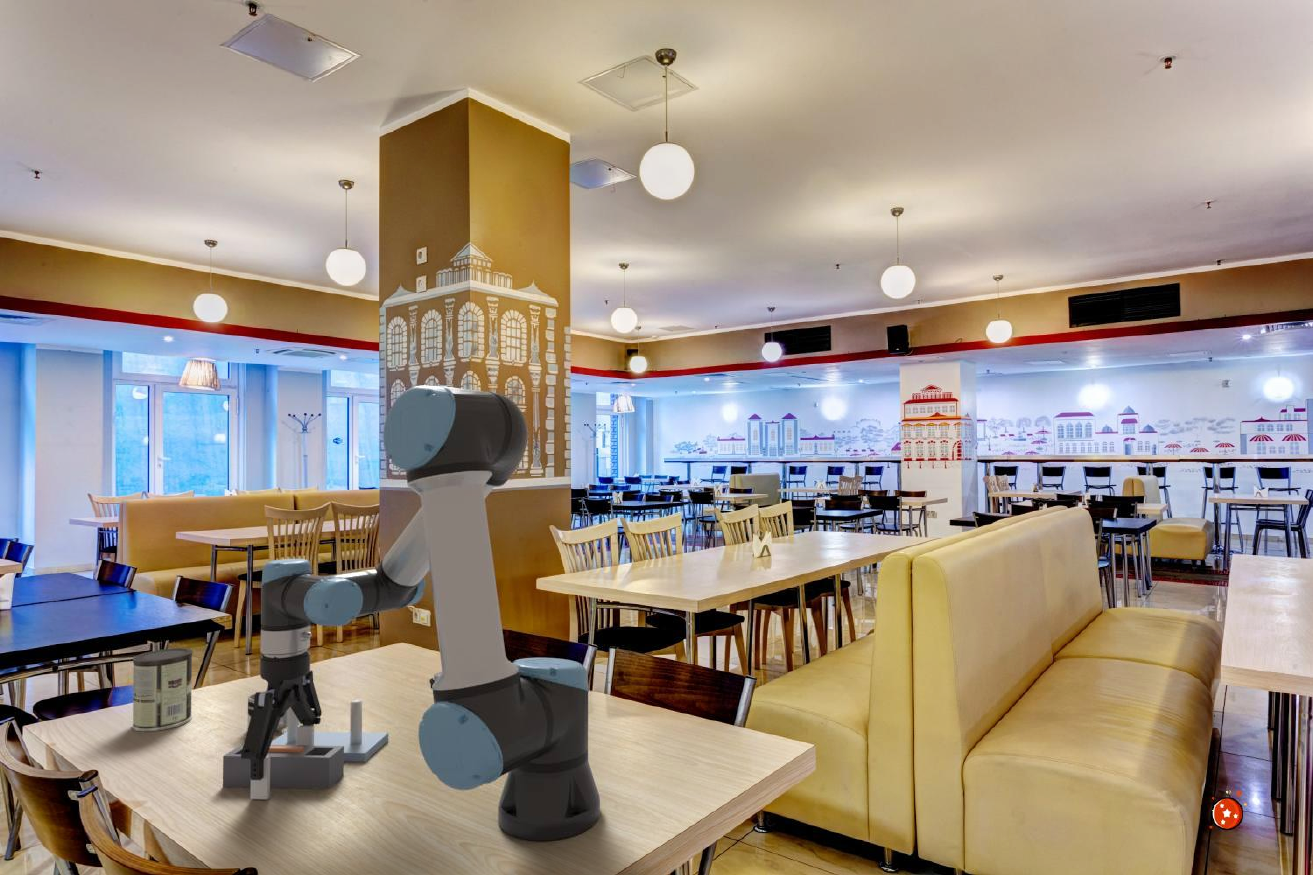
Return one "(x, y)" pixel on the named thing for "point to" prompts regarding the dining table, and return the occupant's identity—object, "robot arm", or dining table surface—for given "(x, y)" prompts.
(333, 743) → the board
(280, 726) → the mug
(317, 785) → the block
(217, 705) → the dining table surface
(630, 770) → the dining table surface
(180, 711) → the coffee can
